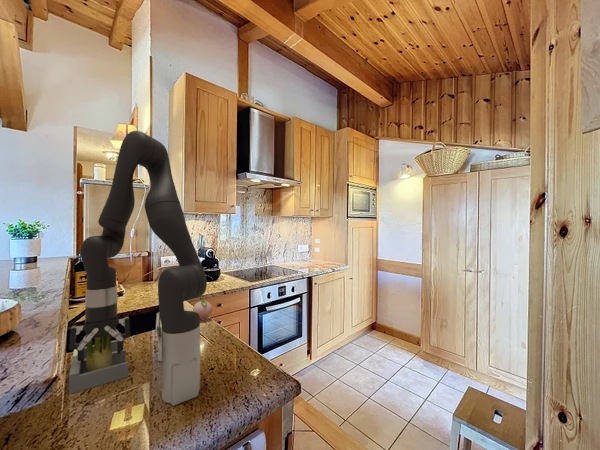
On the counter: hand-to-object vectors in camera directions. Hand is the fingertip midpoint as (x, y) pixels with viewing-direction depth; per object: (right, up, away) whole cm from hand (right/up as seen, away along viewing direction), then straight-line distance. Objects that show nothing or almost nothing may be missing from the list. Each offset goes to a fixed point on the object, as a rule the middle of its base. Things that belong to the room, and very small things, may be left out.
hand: (101, 357), depth 76 cm
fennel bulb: (0, -6, -1) cm, 6 cm away
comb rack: (-3, -5, +3) cm, 7 cm away
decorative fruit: (+13, -6, +45) cm, 47 cm away
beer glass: (+14, -6, +10) cm, 19 cm away
